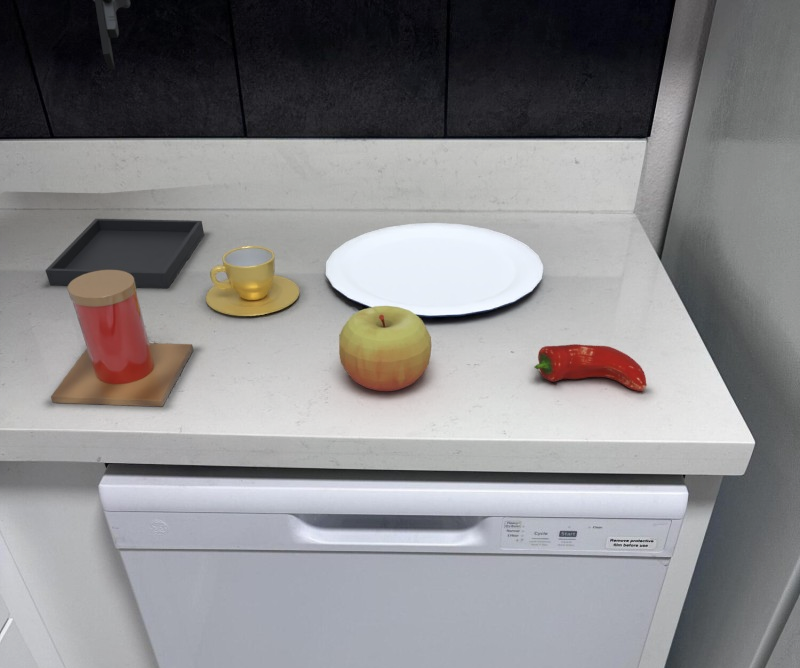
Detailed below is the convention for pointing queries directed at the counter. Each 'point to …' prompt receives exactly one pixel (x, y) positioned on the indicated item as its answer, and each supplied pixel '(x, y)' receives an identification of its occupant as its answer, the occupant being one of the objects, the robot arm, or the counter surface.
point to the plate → (434, 269)
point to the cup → (250, 284)
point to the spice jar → (112, 325)
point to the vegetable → (590, 364)
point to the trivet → (142, 392)
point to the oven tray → (129, 250)
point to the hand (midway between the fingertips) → (47, 65)
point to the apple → (384, 348)
